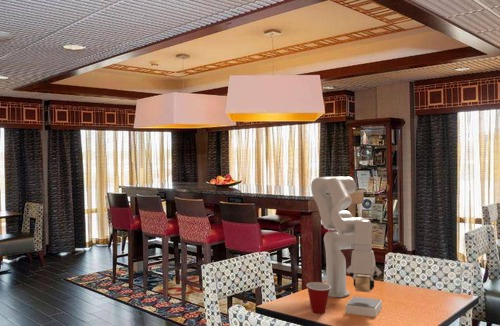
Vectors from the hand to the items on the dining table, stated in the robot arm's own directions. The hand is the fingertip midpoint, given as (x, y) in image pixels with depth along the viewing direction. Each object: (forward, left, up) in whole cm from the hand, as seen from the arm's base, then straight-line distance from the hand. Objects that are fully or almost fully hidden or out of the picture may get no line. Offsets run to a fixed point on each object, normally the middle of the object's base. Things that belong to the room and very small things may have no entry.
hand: (363, 288), depth 212 cm
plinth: (0, 0, -10) cm, 10 cm away
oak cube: (0, 0, -1) cm, 1 cm away
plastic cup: (-18, -9, -10) cm, 22 cm away
